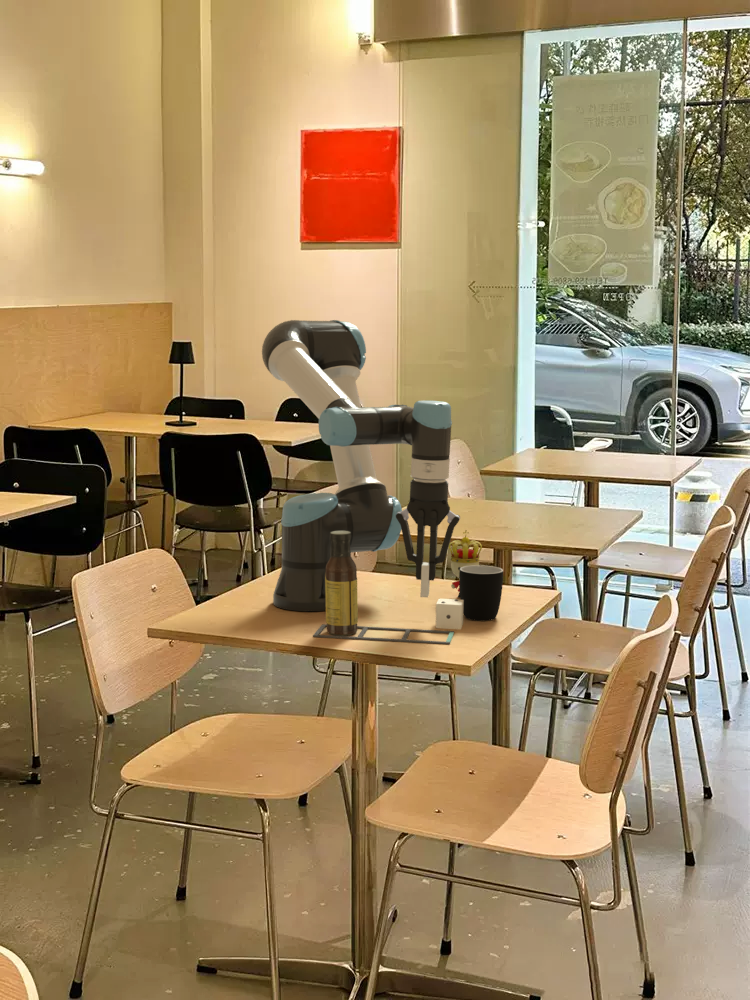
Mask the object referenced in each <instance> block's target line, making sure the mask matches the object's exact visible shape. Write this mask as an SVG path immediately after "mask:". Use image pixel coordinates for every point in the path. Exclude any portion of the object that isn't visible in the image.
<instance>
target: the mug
mask: <svg viewBox="0 0 750 1000" xmlns="http://www.w3.org/2000/svg"><path fill="white" fill-rule="evenodd" d="M458 579H459V580H458V581H459V586H458V589H459V590H460V597H459V598H460V600H464V602H463V617H464V618H465V619H467V620H468V621H469V620H470V621H475V622H488V621H489V622H490V621H493V620H495V619H496V617H497V616H498V613H499V611H500V605H501V600H502V592H503V585H504V584H503V583H504V570H503V568H501V567H498V566H492V565H491V566H490V565H480V564H479V565H472V566H464V567H461V568H460V571H459V578H458Z"/></svg>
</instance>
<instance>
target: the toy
mask: <svg viewBox="0 0 750 1000" xmlns="http://www.w3.org/2000/svg"><path fill="white" fill-rule="evenodd" d="M462 533H463V534H465V536H464V537H462V538H461V540H459V539H456V540H455V539H454V540H453V541H450V544H449V547H448V550H449V551H450V554H451V556H450V558H451V559H450V561H451V562H450V563H451V564H450V568H451V572H452V573H453V575H454V576H456V577H457V578H458V579H459V571H460V568H461V567H464V566H472V565H480V553H481V551H482V550H483V549H482V548H483V546H482V544H481V542H479V541H477V540H475V539H472V540H470V538H469V537H467V534H470V533H469V531H468V532H467V529H465V530H464V531H463V532H462ZM463 534H462V535H463ZM459 545H461V547H462V548H459V549H458V546H459ZM471 545H472V546H473V547H472V548H469V546H471ZM451 546H452V547H451ZM479 546H480V547H479ZM450 588H452V589H456V590H457V592H459V593H458V595H457V598H460V590H459V580H457V581H453V582H452V583H451V587H450Z"/></svg>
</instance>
